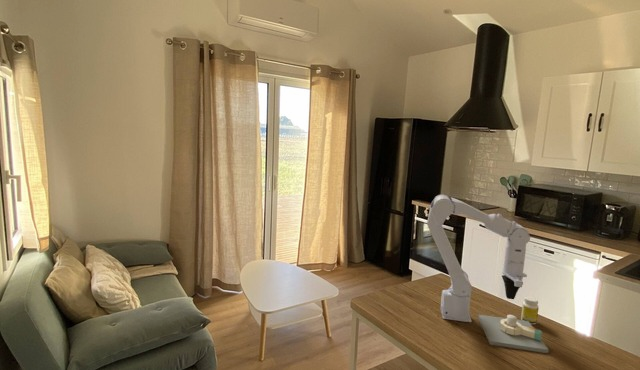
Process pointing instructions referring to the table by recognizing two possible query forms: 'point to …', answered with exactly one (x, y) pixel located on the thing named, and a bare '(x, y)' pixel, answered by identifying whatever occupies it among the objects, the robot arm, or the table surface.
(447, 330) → the table surface
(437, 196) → the robot arm
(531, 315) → the supplement bottle
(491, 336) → the post board
